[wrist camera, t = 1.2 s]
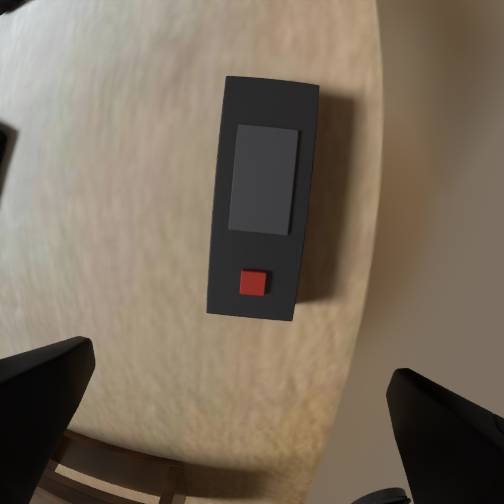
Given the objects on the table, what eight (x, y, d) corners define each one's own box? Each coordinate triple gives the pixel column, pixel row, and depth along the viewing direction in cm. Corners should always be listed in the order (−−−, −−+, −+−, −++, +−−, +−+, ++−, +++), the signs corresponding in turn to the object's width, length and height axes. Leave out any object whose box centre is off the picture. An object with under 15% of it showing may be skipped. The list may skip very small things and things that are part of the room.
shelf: (182, 461, 22) (164, 533, 14) (186, 496, 23) (173, 556, 16) (36, 416, 22) (-1, 464, 14) (55, 456, 24) (27, 501, 16)
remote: (230, 87, 15) (225, 73, 13) (312, 96, 15) (320, 83, 13) (212, 297, 18) (205, 315, 15) (288, 305, 18) (292, 324, 15)
